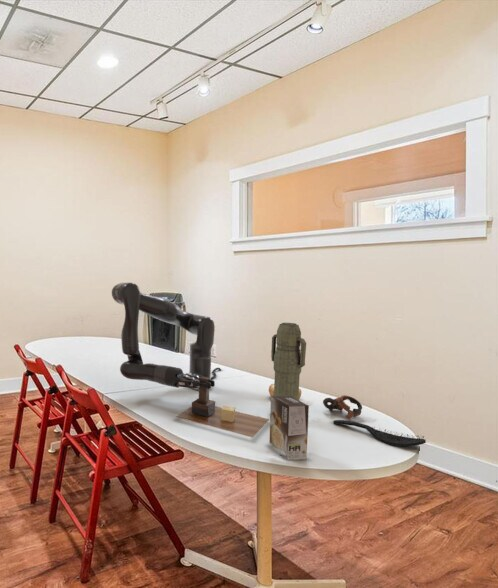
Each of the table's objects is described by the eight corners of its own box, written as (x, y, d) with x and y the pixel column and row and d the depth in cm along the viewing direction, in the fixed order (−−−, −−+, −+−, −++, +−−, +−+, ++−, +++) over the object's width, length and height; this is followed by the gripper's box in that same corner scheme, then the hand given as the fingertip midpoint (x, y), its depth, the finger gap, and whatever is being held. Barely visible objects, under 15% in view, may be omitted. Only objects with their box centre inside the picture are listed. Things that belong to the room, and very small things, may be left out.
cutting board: (197, 406, 159) (197, 402, 159) (269, 423, 142) (269, 419, 142) (175, 420, 144) (175, 416, 144) (252, 441, 127) (252, 437, 127)
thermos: (296, 425, 140) (301, 326, 138) (263, 415, 150) (266, 322, 147) (308, 419, 145) (312, 324, 143) (275, 410, 155) (278, 320, 152)
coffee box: (308, 459, 115) (310, 405, 114) (287, 460, 115) (289, 406, 114) (287, 445, 124) (289, 395, 123) (267, 446, 124) (269, 395, 123)
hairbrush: (339, 412, 144) (430, 434, 123) (339, 422, 145) (430, 446, 123) (327, 417, 140) (419, 440, 119) (327, 427, 140) (419, 453, 119)
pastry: (270, 393, 175) (271, 373, 175) (302, 398, 169) (303, 377, 168) (266, 400, 166) (267, 379, 165) (299, 406, 159) (300, 384, 158)
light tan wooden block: (222, 416, 144) (223, 405, 144) (234, 418, 142) (235, 407, 142) (220, 420, 141) (221, 409, 141) (233, 422, 139) (233, 411, 139)
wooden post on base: (199, 407, 152) (200, 374, 151) (215, 411, 148) (216, 377, 147) (191, 412, 147) (192, 378, 146) (207, 417, 143) (208, 381, 142)
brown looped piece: (348, 411, 155) (360, 397, 150) (356, 430, 147) (368, 415, 142) (315, 401, 157) (326, 387, 152) (321, 419, 149) (333, 405, 145)
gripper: (159, 369, 151) (205, 378, 139) (176, 363, 161) (219, 370, 150) (159, 389, 151) (204, 399, 140) (175, 381, 162) (219, 390, 150)
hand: (212, 384), depth 145 cm, fingers closed on wooden post on base, 3 cm apart
